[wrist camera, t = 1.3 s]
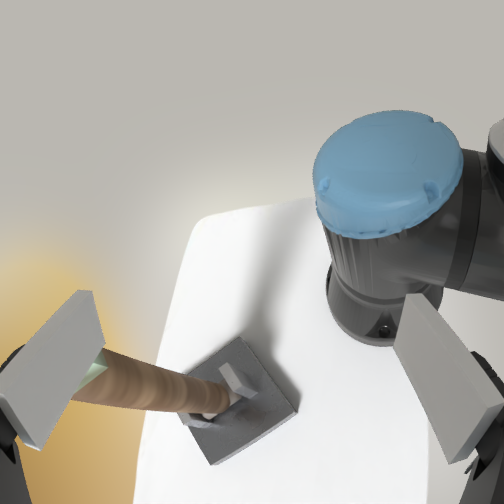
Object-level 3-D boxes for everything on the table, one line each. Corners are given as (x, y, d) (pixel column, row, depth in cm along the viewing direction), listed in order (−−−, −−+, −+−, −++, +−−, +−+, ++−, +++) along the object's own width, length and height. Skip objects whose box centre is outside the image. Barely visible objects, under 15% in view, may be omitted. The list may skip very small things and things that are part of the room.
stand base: (245, 341, 41) (222, 321, 36) (297, 413, 34) (282, 407, 28) (176, 391, 40) (144, 379, 35) (217, 464, 33) (188, 466, 27)
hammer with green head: (230, 375, 36) (65, 306, 14) (247, 399, 34) (84, 366, 12) (198, 398, 36) (16, 354, 14) (214, 422, 34) (30, 410, 12)
